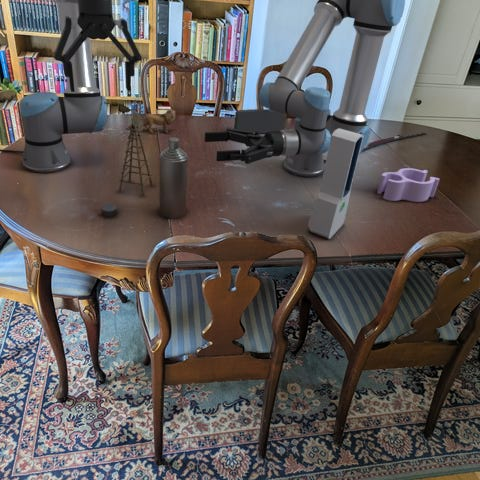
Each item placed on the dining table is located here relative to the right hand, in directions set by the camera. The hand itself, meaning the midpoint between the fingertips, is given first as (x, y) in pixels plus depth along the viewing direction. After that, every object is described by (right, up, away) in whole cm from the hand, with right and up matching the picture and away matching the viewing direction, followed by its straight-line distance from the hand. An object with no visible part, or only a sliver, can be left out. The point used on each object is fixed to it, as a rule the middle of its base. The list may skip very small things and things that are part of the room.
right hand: (210, 146), depth 132 cm
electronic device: (+34, -23, +8) cm, 42 cm away
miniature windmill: (-25, -10, +18) cm, 33 cm away
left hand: (-26, +11, -16) cm, 33 cm away
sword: (+76, +18, +79) cm, 112 cm away
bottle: (-12, -18, +8) cm, 23 cm away
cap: (-30, -17, +3) cm, 34 cm away
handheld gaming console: (+17, +20, +73) cm, 77 cm away
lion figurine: (-26, +19, +63) cm, 71 cm away
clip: (+67, -10, +33) cm, 75 cm away
